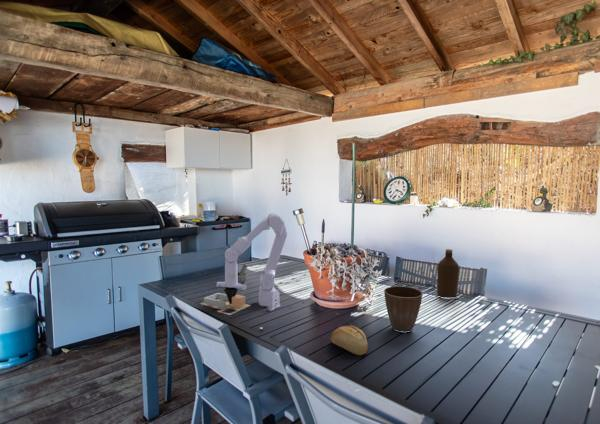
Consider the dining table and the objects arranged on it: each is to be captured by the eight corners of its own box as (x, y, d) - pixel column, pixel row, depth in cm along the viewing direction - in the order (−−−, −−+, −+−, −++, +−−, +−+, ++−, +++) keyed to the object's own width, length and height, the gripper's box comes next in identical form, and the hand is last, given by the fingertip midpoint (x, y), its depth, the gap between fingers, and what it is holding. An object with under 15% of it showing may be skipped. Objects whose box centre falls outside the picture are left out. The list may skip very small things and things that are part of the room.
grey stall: (238, 302, 177) (238, 297, 177) (224, 308, 169) (224, 302, 168) (218, 297, 183) (217, 292, 183) (203, 303, 175) (203, 297, 175)
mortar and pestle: (236, 290, 201) (236, 268, 199) (226, 286, 207) (225, 265, 206) (252, 285, 209) (252, 265, 208) (242, 282, 215) (242, 262, 214)
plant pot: (394, 339, 142) (396, 298, 140) (376, 324, 156) (377, 287, 155) (428, 335, 146) (430, 295, 144) (407, 321, 160) (409, 285, 159)
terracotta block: (245, 305, 173) (245, 295, 172) (240, 308, 169) (240, 298, 168) (236, 304, 174) (236, 294, 174) (231, 307, 170) (231, 297, 170)
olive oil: (451, 301, 186) (453, 252, 184) (431, 296, 195) (434, 249, 192) (461, 297, 193) (464, 250, 191) (442, 292, 201) (444, 247, 199)
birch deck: (251, 308, 173) (251, 305, 173) (229, 318, 161) (229, 314, 161) (216, 300, 184) (216, 297, 184) (194, 308, 172) (194, 305, 172)
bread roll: (340, 338, 143) (341, 318, 142) (374, 351, 132) (375, 329, 132) (324, 346, 136) (325, 325, 135) (358, 360, 126) (359, 337, 125)
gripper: (249, 273, 173) (249, 302, 174) (221, 270, 177) (222, 298, 179) (242, 277, 166) (242, 307, 167) (214, 274, 171) (214, 303, 172)
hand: (231, 303), depth 173 cm, fingers closed
